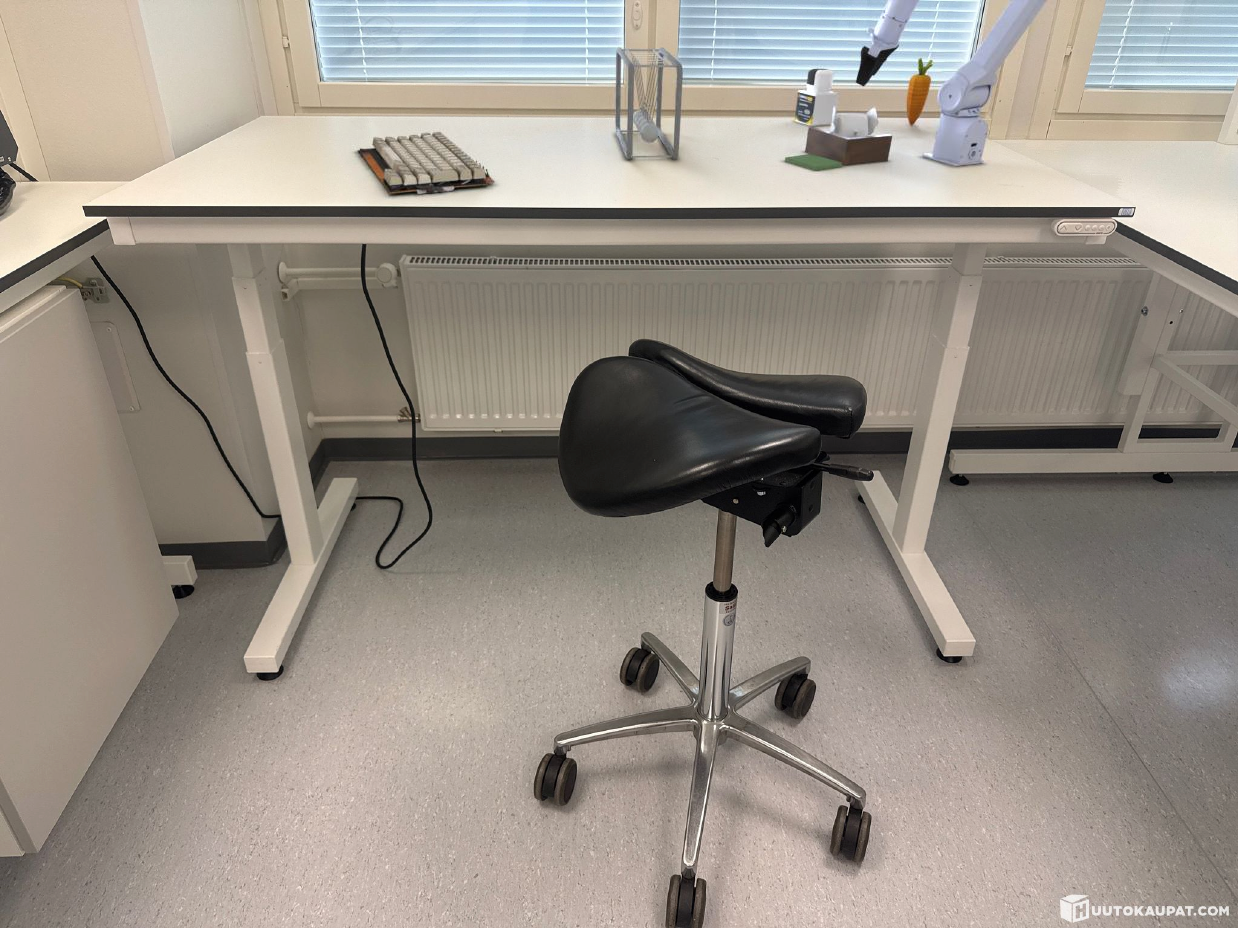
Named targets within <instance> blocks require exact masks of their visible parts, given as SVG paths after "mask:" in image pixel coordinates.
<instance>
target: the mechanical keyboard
mask: <svg viewBox="0 0 1238 928" xmlns="http://www.w3.org/2000/svg"><path fill="white" fill-rule="evenodd" d="M371 145H372V146H373V148H372V147H371V148H359V149H357V150H356V151H357V152H358V153H359V155H360V157H362V159H363V160H364V161H365V162H366V163H367V165H368V167H369V168H370V169H371V171H372V172H373V173H374V174H375V175H376V177H377V178H378V179H379V180H380V183H382V185H383V187H384V188H385V189H386V190H387V192H388V194H389V195H391V194H399V193H400V194H401V193H410V192H416V193H417V195H422V194H433V193H443V192H447V193H448V192H449V193H450V192H453V191H454V190H455V188H467V187H478V186H488V185H489V184H494V183H495V180H494V179H493V178H492V177H491V176H490V174H489V171H488V169H487V168H485V166H484V165H481V162H480V163H478V160H474V159H473V158H472V157H471V156H470V155H468V154H467V153H466V152H465V151H464V150H462V148H461V147H460V146H458V145H456V144H455V143H454V142H453V140H451V139H449V138H448V137H447V136H446V135H445V134H444V133H443V132H441V131H433V132H432V133H430V132H421V134H420V136H419V134H409V136H408V137H407V136H405V135H398V136H397V138H395V137H394V136H385V137H384V138H382V137H378V136H374V137H373V139H372V144H371Z"/></svg>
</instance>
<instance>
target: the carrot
mask: <svg viewBox="0 0 1238 928" xmlns="http://www.w3.org/2000/svg"><path fill="white" fill-rule="evenodd" d="M917 64H918V65H917V71H918V73H916V74H913V75H912V76H911V77H910V79H909V81H908V88H907V95H906V116H907V120H908V124H909V125H910V126H913V125H914V124H915V123H916V122H917V121H918V119H919V117H920V116H921V114H922V113H923V110H924V107H925V106H926V105H925V104H926V101H927V99H928V95H929V92H930V87H931V82H932V78H931V76H930V75H928V74H926V73H927V71H928V70H929V69H930V68H932V67H933V66H934V65H933V59H929V61H928V62H927V64H926V66H925V65H924V61H923V58H922V57H919V58H918V59H917Z"/></svg>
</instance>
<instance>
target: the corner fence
mask: <svg viewBox="0 0 1238 928" xmlns="http://www.w3.org/2000/svg"><path fill="white" fill-rule="evenodd" d="M893 136H894V135H893V134H889V133H888V134H887V133H886V134H879V135H878V134H877V135H868V136H864V137H853V138H848V137H844V136H841V135H838V134H835V133H832V132H830V131H828V130H826V129H822V128H819V127H817V126H808V129H807V134H806V143H805V149H804V152H805V153H807V154H813V155H816V156H820V157H823V158H827V159H831V160H834V161H838V162H841V163H842V165H841V166H844V167H845V166H854V165H861V164H862V165H863V164H864V165H865V164H873V163H883V162H888V161H889V157H890V151H891V146H892V140H893Z"/></svg>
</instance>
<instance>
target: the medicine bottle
mask: <svg viewBox="0 0 1238 928" xmlns="http://www.w3.org/2000/svg"><path fill="white" fill-rule="evenodd" d="M834 76H835V73H834V71H833V70H832V69H828V68H811V69H809V70H808V72H807V79H806V88H807V89H799V90H798V92H797V96H796V105H795V114H794V121H795V122H796V123H800V124H802V125H806V126H808V127H817V126H829V125H830V126H831V124H832V115H833V107H834V106H835V110H836V111H835V113H836V114H837V109H838V102H839V95H840V94H839V92H837V91H833V90H832V88H833V83H834Z"/></svg>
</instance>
